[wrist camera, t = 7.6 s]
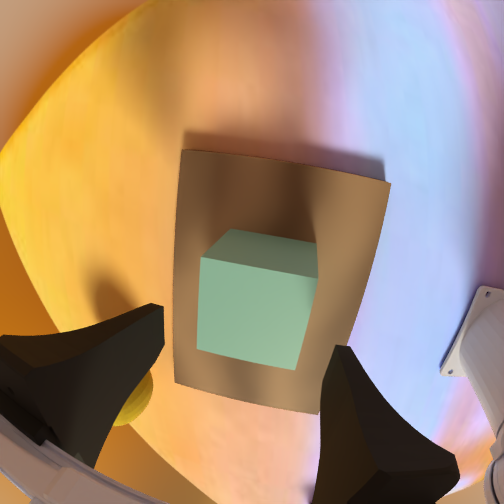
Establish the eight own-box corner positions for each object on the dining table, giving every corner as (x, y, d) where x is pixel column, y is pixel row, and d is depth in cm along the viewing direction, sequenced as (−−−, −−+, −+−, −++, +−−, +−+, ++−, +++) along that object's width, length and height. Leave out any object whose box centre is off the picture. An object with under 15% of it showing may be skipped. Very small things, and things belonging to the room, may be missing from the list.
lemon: (119, 323, 23) (63, 378, 16) (174, 357, 23) (129, 424, 15) (111, 362, 25) (65, 414, 18) (159, 391, 25) (121, 452, 18)
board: (386, 181, 16) (391, 183, 15) (318, 404, 22) (317, 414, 21) (189, 149, 17) (181, 149, 16) (179, 373, 23) (174, 382, 22)
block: (316, 243, 17) (318, 278, 12) (300, 318, 18) (294, 370, 14) (230, 228, 17) (200, 256, 13) (223, 303, 19) (196, 348, 14)
